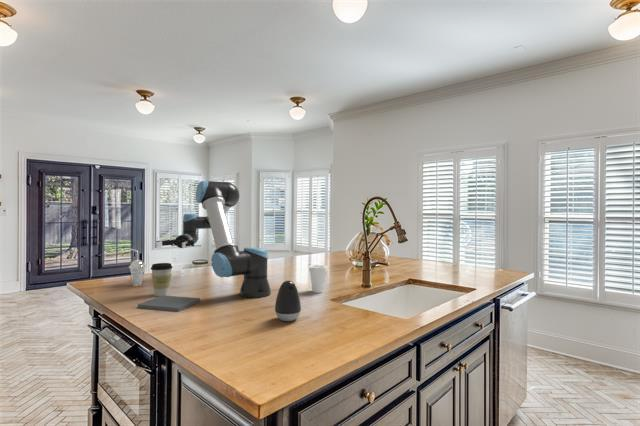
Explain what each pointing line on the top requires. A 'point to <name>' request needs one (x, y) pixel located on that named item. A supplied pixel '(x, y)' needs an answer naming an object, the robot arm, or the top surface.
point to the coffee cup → (161, 278)
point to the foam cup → (318, 277)
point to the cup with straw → (137, 270)
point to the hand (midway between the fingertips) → (169, 245)
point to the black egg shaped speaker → (287, 302)
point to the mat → (169, 303)
